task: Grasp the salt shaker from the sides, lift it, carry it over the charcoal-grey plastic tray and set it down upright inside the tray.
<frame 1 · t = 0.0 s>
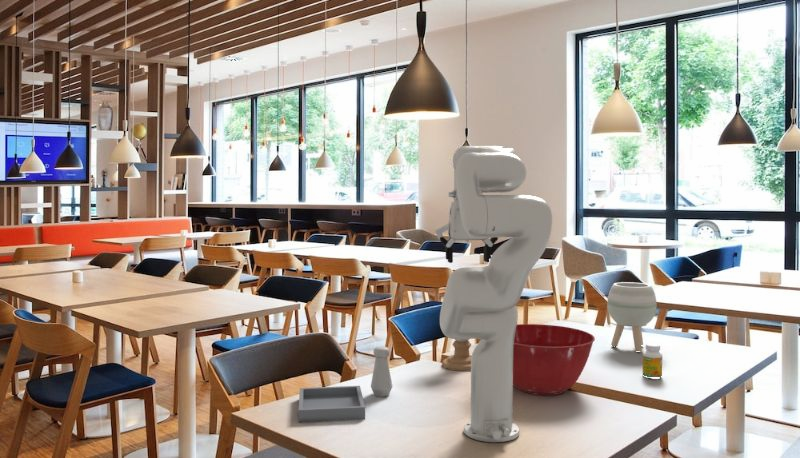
hand: (468, 262, 178), 37 cm above the table, fingers open, 9 cm apart
mixing bowl: (541, 388, 191), on the table
planter: (630, 349, 236), on the table
salt shaker: (381, 395, 185), on the table
tray: (331, 408, 173), on the table
candle holder: (461, 366, 215), on the table
supplement bottle: (652, 377, 202), on the table
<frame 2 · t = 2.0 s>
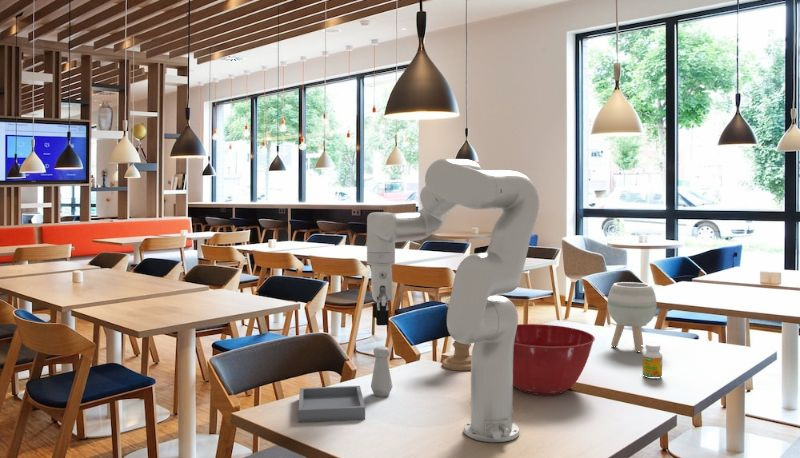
hand: (380, 321, 184), 20 cm above the table, fingers open, 9 cm apart
nothing on the table moved.
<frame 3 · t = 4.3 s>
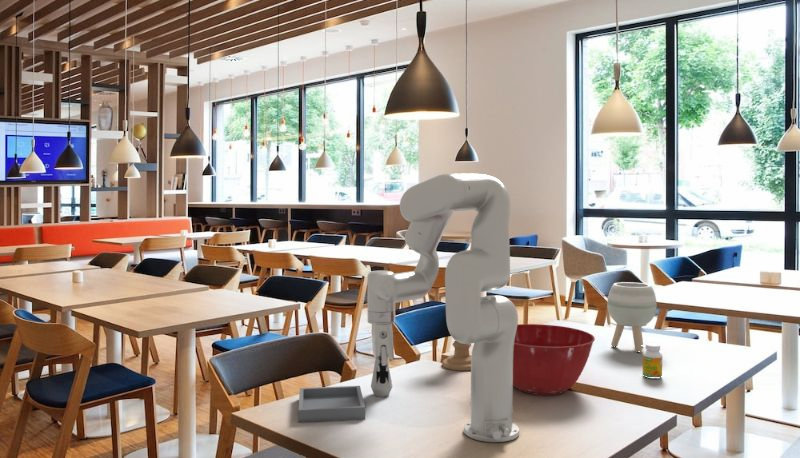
hand: (381, 382, 185), 3 cm above the table, fingers closed on salt shaker, 3 cm apart
salt shaker: (381, 395, 185), on the table, touching gripper
everything else where it was.
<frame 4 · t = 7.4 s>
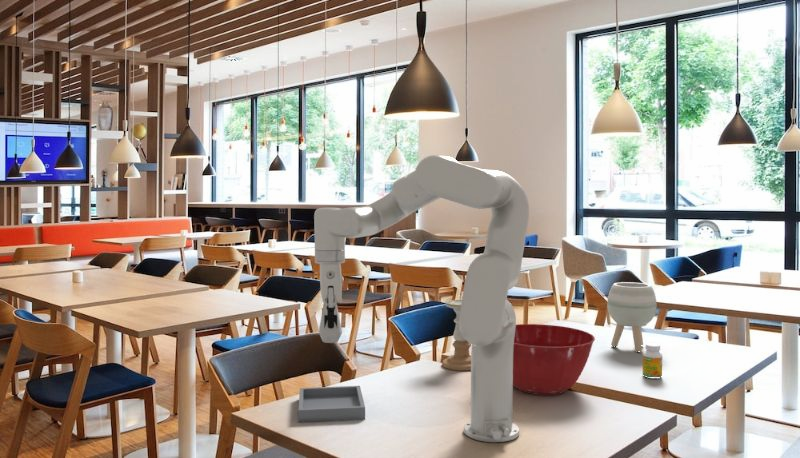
hand: (330, 328, 172), 21 cm above the table, fingers closed on salt shaker, 3 cm apart
salt shaker: (330, 341, 172), point 17 cm above the table, touching gripper
everything else where it was.
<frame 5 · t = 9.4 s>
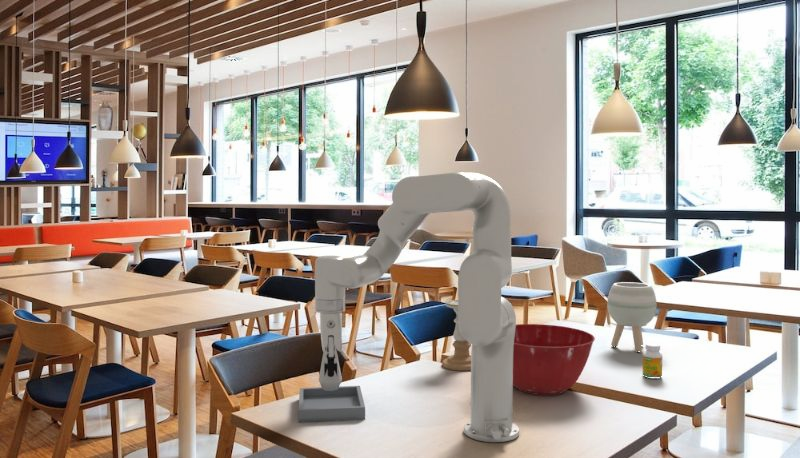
hand: (330, 376, 173), 8 cm above the table, fingers closed on salt shaker, 3 cm apart
salt shaker: (330, 389, 173), point 5 cm above the table, touching gripper
everything else where it was.
when the fingers open (6 cm above the table, at t = 10.7 s): salt shaker drops 1 cm, resting on tray.
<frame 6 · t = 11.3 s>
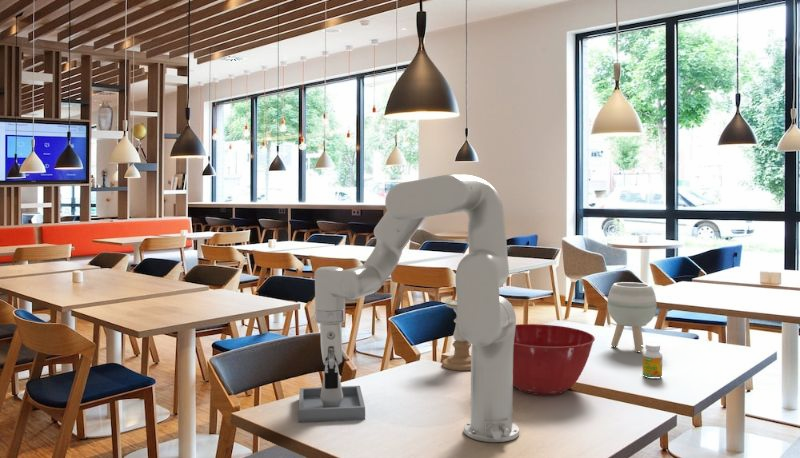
hand: (330, 382, 173), 7 cm above the table, fingers open, 9 cm apart
salt shaker: (331, 406, 173), point 1 cm above the table, touching tray
everything else where it was.
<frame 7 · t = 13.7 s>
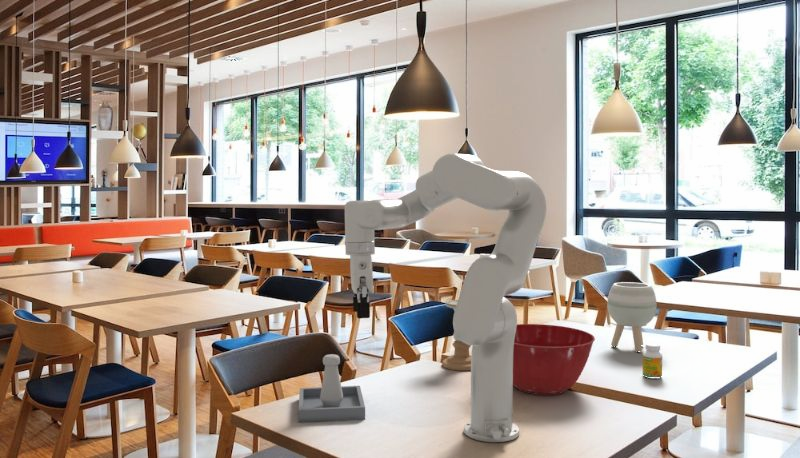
hand: (361, 314, 176), 23 cm above the table, fingers open, 9 cm apart
nothing on the table moved.
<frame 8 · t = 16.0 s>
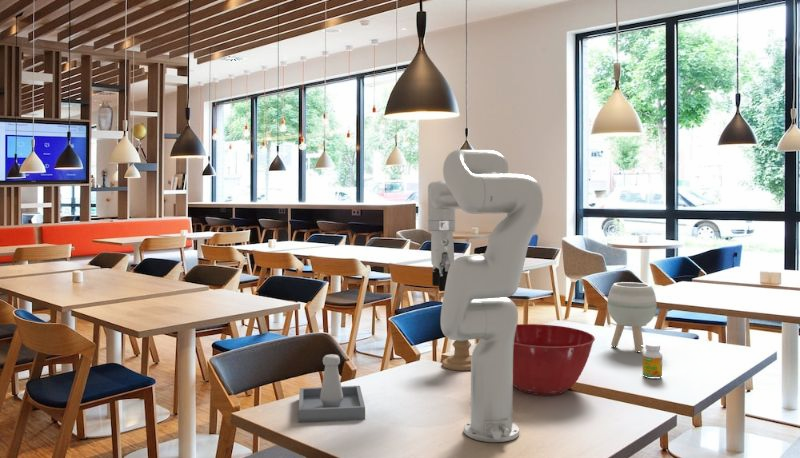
hand: (441, 288, 189), 28 cm above the table, fingers open, 9 cm apart
nothing on the table moved.
at the end: salt shaker inside the target area on the tray (0.2 cm from its centre), point 0.6 cm above the tray's base; salt shaker tilted 0°; the gripper is holding nothing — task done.
